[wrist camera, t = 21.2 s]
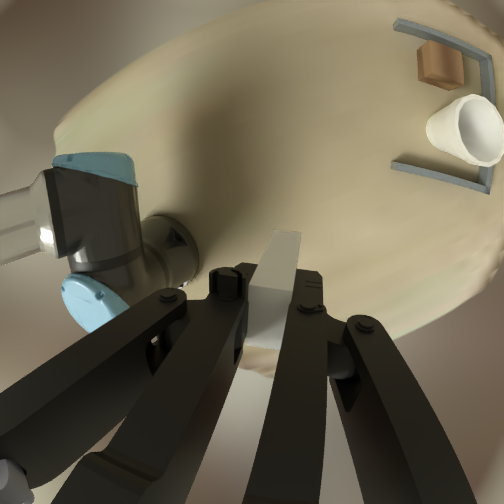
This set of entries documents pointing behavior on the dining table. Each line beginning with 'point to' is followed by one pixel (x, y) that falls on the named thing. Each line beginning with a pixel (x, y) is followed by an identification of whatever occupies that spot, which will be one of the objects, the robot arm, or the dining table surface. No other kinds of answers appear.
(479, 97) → the foam cup
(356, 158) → the dining table surface
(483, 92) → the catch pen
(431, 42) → the walnut block
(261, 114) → the dining table surface
